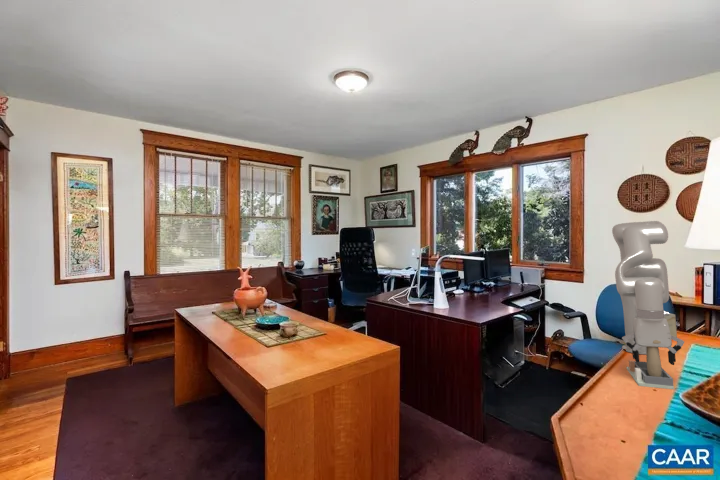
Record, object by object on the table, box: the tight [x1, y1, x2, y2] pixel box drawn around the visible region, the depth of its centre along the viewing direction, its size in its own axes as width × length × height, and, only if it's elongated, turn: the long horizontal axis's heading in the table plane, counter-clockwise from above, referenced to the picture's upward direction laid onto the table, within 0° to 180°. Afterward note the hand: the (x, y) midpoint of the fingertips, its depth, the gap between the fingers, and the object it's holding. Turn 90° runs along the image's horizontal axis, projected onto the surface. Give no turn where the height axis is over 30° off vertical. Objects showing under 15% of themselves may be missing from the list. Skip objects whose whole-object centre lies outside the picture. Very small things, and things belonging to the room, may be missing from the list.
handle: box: [646, 340, 662, 377], centre depth 123 cm, size 5×6×15 cm
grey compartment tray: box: [626, 359, 675, 390], centre depth 127 cm, size 18×10×4 cm, turn 153°
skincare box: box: [665, 313, 678, 338], centre depth 177 cm, size 6×4×12 cm
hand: (653, 362), depth 123 cm, fingers open, 9 cm apart
